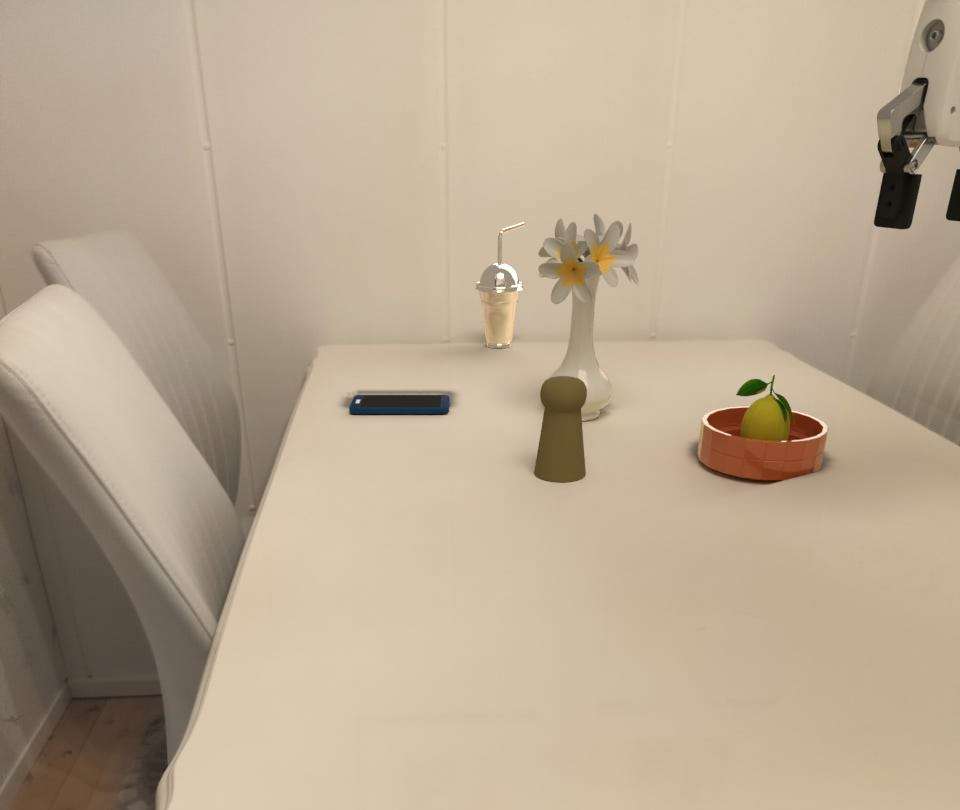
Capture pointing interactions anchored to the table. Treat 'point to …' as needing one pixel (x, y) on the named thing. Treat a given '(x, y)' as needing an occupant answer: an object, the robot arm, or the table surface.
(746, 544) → the table surface
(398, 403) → the cell phone
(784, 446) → the bowl
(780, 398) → the lemon
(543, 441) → the olive game pawn
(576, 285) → the flower vase
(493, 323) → the cup with straw
